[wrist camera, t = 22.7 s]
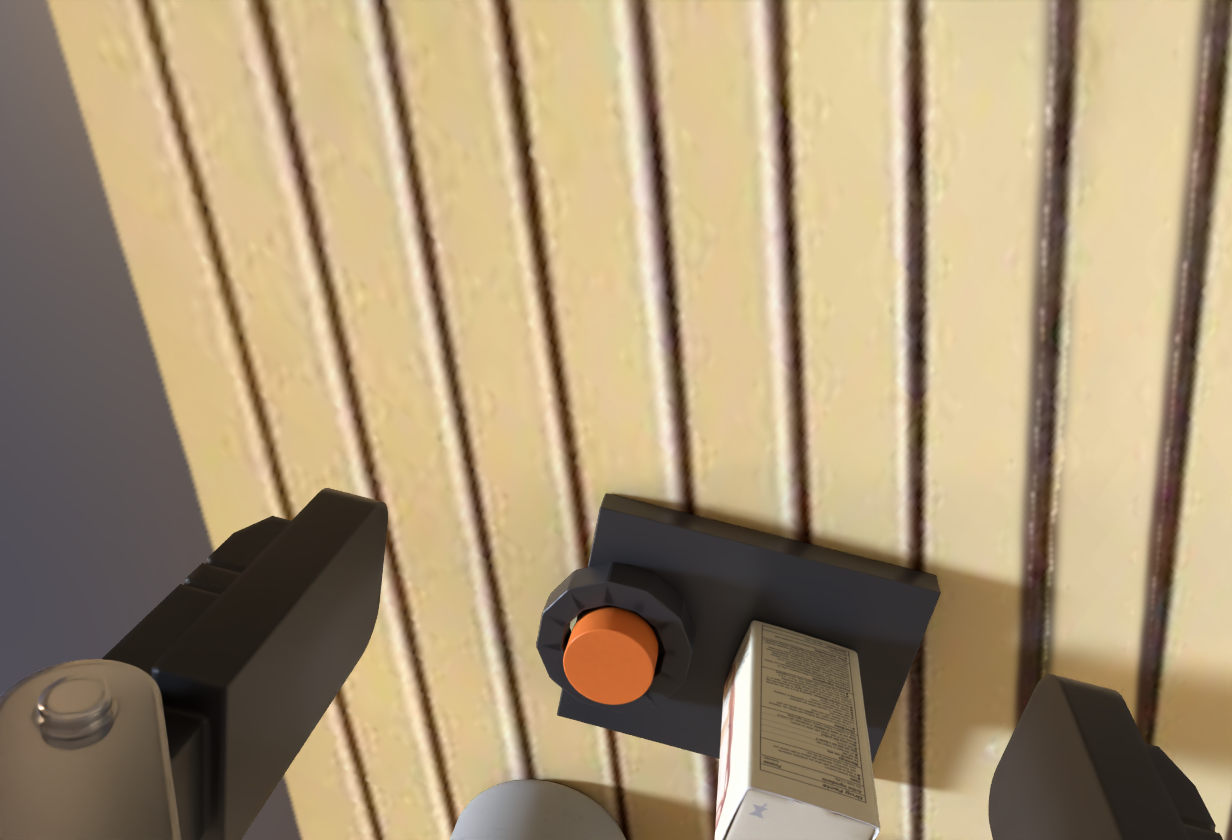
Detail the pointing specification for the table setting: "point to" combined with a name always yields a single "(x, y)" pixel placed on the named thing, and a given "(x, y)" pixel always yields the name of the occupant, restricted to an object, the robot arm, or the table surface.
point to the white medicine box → (794, 742)
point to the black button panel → (729, 615)
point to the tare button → (611, 656)
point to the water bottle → (534, 814)
